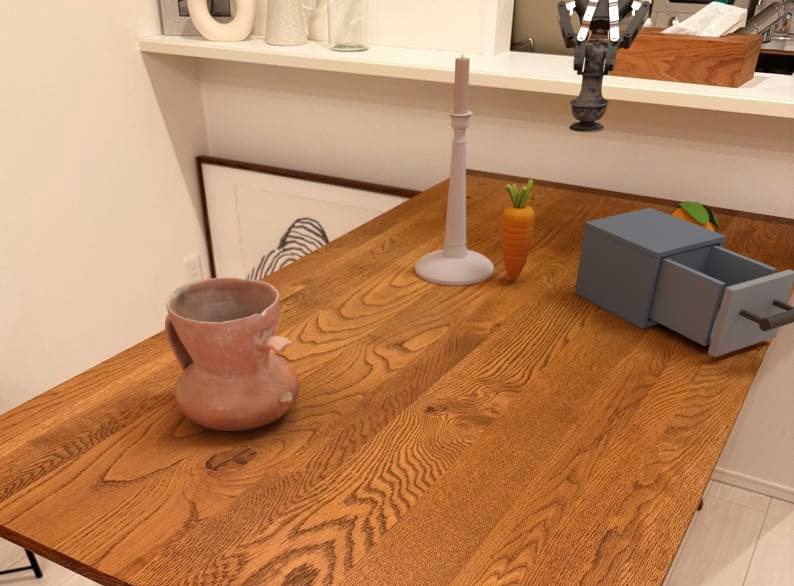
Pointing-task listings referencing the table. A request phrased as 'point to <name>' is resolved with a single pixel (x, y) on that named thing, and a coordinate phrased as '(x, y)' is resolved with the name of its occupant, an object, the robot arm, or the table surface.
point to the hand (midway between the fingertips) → (593, 70)
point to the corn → (696, 214)
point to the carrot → (517, 230)
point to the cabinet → (633, 259)
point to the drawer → (721, 298)
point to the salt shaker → (590, 92)
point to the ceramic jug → (229, 354)
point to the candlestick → (456, 205)
